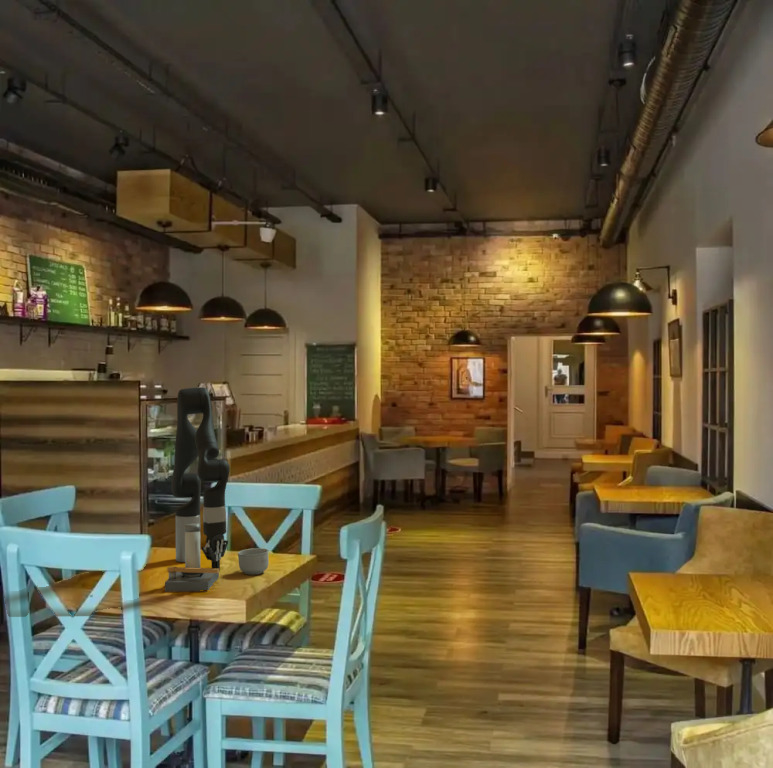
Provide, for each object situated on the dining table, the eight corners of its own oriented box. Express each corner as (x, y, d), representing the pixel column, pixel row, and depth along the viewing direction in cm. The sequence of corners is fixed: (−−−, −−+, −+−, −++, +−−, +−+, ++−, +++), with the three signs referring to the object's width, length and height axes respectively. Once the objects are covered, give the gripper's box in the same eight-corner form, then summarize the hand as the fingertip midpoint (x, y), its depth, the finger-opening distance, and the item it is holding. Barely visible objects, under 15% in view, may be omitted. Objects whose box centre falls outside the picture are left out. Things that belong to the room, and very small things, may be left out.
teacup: (267, 576, 304) (267, 553, 304) (236, 576, 303) (236, 553, 303) (270, 567, 318) (270, 545, 317) (240, 568, 317) (240, 546, 317)
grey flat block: (178, 577, 302) (177, 563, 302) (218, 577, 302) (218, 562, 302) (164, 591, 282) (164, 576, 282) (208, 591, 282) (208, 575, 282)
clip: (169, 570, 290) (169, 566, 290) (220, 571, 287) (220, 568, 287) (165, 572, 287) (165, 568, 287) (216, 573, 284) (216, 570, 284)
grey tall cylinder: (183, 581, 296) (183, 523, 296) (206, 581, 296) (206, 522, 296) (179, 586, 288) (178, 526, 288) (201, 586, 288) (201, 526, 288)
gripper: (215, 516, 295) (217, 566, 296) (193, 522, 283) (194, 575, 283) (234, 517, 293) (236, 568, 293) (213, 523, 280) (214, 576, 281)
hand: (215, 571), depth 288 cm, fingers closed
